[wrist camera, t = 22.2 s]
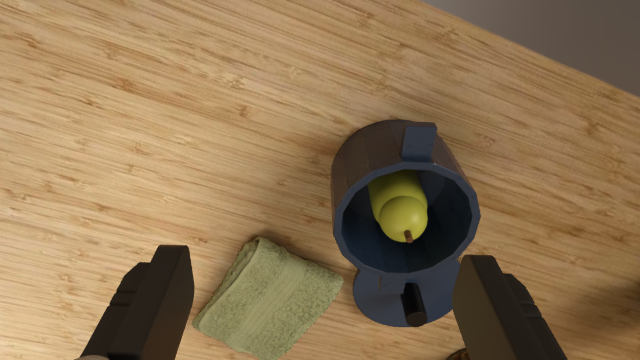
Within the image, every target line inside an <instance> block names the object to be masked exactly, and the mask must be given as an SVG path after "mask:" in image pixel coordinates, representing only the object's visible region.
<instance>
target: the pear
mask: <svg viewBox="0 0 640 360" xmlns="http://www.w3.org/2000/svg"><path fill="white" fill-rule="evenodd" d="M367 186H368V191H369V196H370V201H371V206H372V211H373V214H374V217H375V219H376V220H377V222H378V223H379V224H380V226H381V228H382V230H383V232H384V233H385V234H386V235H387V236H388V237H389V238H391V239H393V240H395V241H399V242H407V243H411V242H413V240H414V239H416V238H418V237H419V236H420V235H421V234H422V233H423V232H424V230H425V228H426V225H427V220H428V218H427V199H426V196H425V194H424V191H423V189H422V186H421V184H420V181H419V179H418V176H417V174H416V171H415V170H411V169H402V170H399V171H395V172H392V173H389V174H386V175H382V176H379V177H376V178H375V179H373V180H372V181H371V182H369V183H368V184H367Z"/></svg>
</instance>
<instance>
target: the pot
mask: <svg viewBox="0 0 640 360" xmlns="http://www.w3.org/2000/svg"><path fill="white" fill-rule="evenodd" d="M436 131H437V127H436V125H435V123H429V122H413V121H408V120H386V121H381V122H377V123H374V124H371V125H369V126H366V127H364V128H362V129H361V130H359V131H357V132H356V133H355V134H353V135H352V136H351V137H350V138H349V139H348V140H346V142H345V143H344V144H343V145H342V146H341V148H340V149H339V151H338V152H337V154H336V157H335V159H334V161H333V164H332V170H331V185H330V186H331V204H332V222H333V235H334V238H335V240H336V242H337V244H338V247H339V249H340V251H341V253H342V255H343V256H344V257H345V258H346V259H348V260H349V261H350V262H351V263H352V264H353V265H355V266H356V267H357V268H358V269H359V270H362V271H364V272H367V273H370V274H373V275H376V276H379V282H378V290H379V293H393V294H403V292H404V287H405V282H406V279H410V278H414V277H418V276H422V275H426V274H429V273H433V272H435V271H437V270H439V269H441V268H442V267H444V266H446V265H447V264H449V263H450V262H452V261H454V260H455V259H457V258H458V257H459V256H460V255H461V254H462V252H463V251H464V250H465V249H466V248H467V246H468V245H469V244H470V243H471V242H472V240H473V239H474V237H475V234H476V230H477V227H478V224H479V220H480V217H481V215H480V210H479V205H478V200H477V195H476V192H475V191H474V189H473V187H472V185H471V184H470V182H469V180H468V179H467V177H466V175H465V174H464V172H463V170H462V169H461V167H460V165H459V164H458V162H457V160H456V159H455V157H454V155H453V154H452V152H451V150H450V149H449V147H448V146H447V145H446V144H445V143H444V141H443V140H442V138H441V137H440V136H439V135H438V134H437V133H436ZM402 169H411V170H415V171H416V174H417V176H418V179H419V181H420V184H421V186H422V189H423V191H424V194H425V196H426V199H427V218H428V220H427V225H426V228H425V230H424V232H423V233H422V234H421V235H420V236H419V237H418V238H416V239H414V240H413V242H411V243H407V242H399V241H395V240H393V239H391V238H389V237H388V236H387V235H386V234H385V233H384V232H383V230H382V228H381V226H380V224H379V223H378V222H377V220H376V219H375V217H374V214H373V211H372V206H371V201H370V196H369V191H368V186H367V184H368V183H369V182H371V181H372V180H373V179H375V178H376V177H379V176H382V175H386V174H389V173H392V172H395V171H399V170H402Z"/></svg>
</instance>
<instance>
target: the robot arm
mask: <svg viewBox="0 0 640 360" xmlns="http://www.w3.org/2000/svg"><path fill="white" fill-rule="evenodd" d="M193 299H194V279H193V273H192V266H191V259H190V253H189V248H188V246H186V245H159V247H158V248H157V250H156V252H155V254H154V256H153V258H152V260H151V262H150V263H147V262H139V263H138V264H137V265H136V266H135V267H133V268H132V269H131V270H130V271H129V272H128V273H127V274H126V275H125V276H124V277H123V279H122V281H121V283H120V285H119V287H118V288H117V292H116V293H115V294H114V296H113V298H112V300H111V301H110V305H109V306H108V307H107V309H106V311H105V312H104V314H103V316H102V318H101V320H100V322H99V323H98V325H97V327H96V329H95V331H94V333H93V334H92V336H91V338H90V340H89V342H88V344H87V345H86V347H85V349H84V351H83V353H82V354H81V356H80V357H79V358H77V359H75V360H175V357H176V354H177V350H178V347H179V344H180V341H181V338H182V335H183V332H184V329H185V326H186V323H187V320H188V317H189V313H190V310H191V307H192V304H193ZM452 307H453V312H454V315H455V318H456V321H457V324H458V326H459V329H460V332H461V335H462V338H463V341H464V343H465V346H466V349H467V352H468V355H469V357H470V360H567V358H566V356H565V354H564V353H563V351H562V349H561V347H560V346H559V344H558V342H557V340H556V339H555V337H554V335H553V334H552V332H551V330H550V328H549V327H548V325H547V323H546V321H545V320H544V318H542V315H541V313H540V311H539V309H538V308H537V306H536V305H534V301H533V299H532V297H531V295H530V294H529V292H528V290H527V289H526V287H525V286H524V285H523V284H522V283H521V282H519V281H518V280H517V279H516V278H515V277H514V276H513V275H512V274H503V273H502V271H501V269H500V267H499V265H498V263H497V261H496V260H495V258H494V257H493V256H491V255H464V257H463V258H462V261H461V265H460V268H459V272H458V275H457V279H456V282H455V286H454V289H453V293H452Z"/></svg>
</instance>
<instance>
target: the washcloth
mask: <svg viewBox="0 0 640 360" xmlns="http://www.w3.org/2000/svg"><path fill="white" fill-rule="evenodd" d="M343 282H344V281H343V277H341V275H340V274H338V273H334V272H333V271H331V270H328V269H326V268H323V267H321V266H319V265H318V264H315V263H314V262H313V261H310V260H306V261H305V260H303V259H302V258H299V257H297V256H295V255H292V254H290V253H288V250H287V249H285V248H284V247H282V246H281V247H278V245H277V244H274V243H273V242H270V241H269V240H268V239H267V238H263V237H257V238H256V239H254V240H253V241H252V242H248V243H246V244H245V245H244V248H243V249H242V250H241V251H240V252H239V255H238V256H237V258H236V261H235V262H234V264H233V266H232V267H231V268H230V269H229V271H228V272H227V274H226V276H225V279H224V281H223V282H222V285H220V287H219V288H217V290H216V291H215V293H214V296H212V299H211V300H210V301H209V303H207V306H205V308H203V309H202V311H201V312H200V313H199V315H197V317H196V318H195V319H193V322H192V325H193V327H194V328H195V329H197V330H199V331H201V332H202V333H204V334H205V335H207V336H210V337H212V338H215V339H217V340H220V341H222V342H224V343H225V344H226V345H227V346H229V347H230V348H232V349H234V350H236V351H238V352H244V353H249V354H252V355H254V356H256V357H257V358H259V359H260V360H277V359H278V358H280V357H281V356H282V355H284V354H285V353H287V352H288V351H289V350H290V349H291V348H292V346H293V344H295V342H297V340H298V339H299V338H300V337H301V336H302V335H303V334H304V333H305V331H307V330H308V328H309V327H310V326H312V324H313V323H314V322H315V321H316V320H317V317H319V316H321V315H322V314H323V313H324V311H325V310H327V308H328V306H329V305H330V304H331V301H332V300H335V296H336V295H338V293H339V291H340V290H341V288H342V286H341V285H342V284H343Z"/></svg>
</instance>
